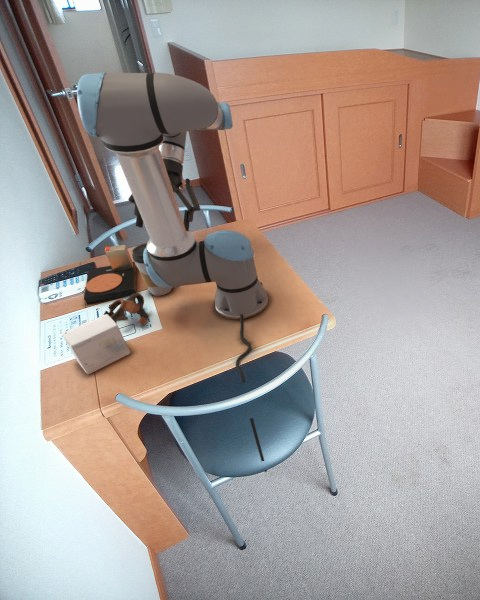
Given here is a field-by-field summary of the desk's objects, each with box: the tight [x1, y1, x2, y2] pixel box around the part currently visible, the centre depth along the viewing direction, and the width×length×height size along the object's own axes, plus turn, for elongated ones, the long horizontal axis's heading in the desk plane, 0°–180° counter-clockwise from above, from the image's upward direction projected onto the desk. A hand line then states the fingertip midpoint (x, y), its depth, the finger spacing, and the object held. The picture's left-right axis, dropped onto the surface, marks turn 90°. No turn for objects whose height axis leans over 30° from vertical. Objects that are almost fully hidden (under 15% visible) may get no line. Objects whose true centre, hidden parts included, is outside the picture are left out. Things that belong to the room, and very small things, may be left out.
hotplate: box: [83, 261, 138, 306], centre depth 134 cm, size 18×15×3 cm
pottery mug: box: [103, 292, 150, 327], centre depth 121 cm, size 12×10×8 cm
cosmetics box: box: [61, 314, 131, 375], centre depth 107 cm, size 10×6×10 cm, turn 140°
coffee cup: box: [131, 242, 173, 297], centre depth 129 cm, size 8×8×15 cm
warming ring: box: [85, 274, 122, 293], centre depth 131 cm, size 10×10×1 cm
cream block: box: [104, 244, 134, 272], centre depth 135 cm, size 6×3×8 cm, turn 115°
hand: (162, 229), depth 131 cm, fingers open, 13 cm apart
